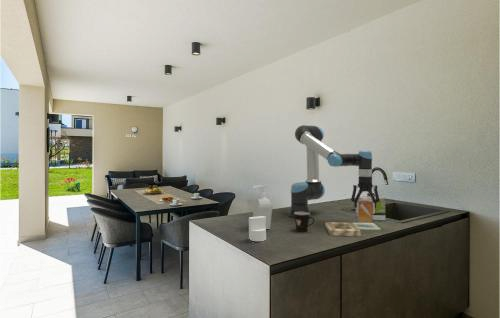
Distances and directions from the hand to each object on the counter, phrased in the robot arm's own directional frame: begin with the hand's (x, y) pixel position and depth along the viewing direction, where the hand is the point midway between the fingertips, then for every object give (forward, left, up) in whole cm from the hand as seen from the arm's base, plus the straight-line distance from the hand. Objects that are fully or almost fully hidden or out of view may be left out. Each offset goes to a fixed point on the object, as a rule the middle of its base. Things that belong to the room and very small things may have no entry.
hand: (365, 213), depth 173 cm
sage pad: (0, 0, -8) cm, 8 cm away
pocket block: (-16, -12, -8) cm, 22 cm away
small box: (0, 0, -5) cm, 5 cm away
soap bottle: (-63, -10, -9) cm, 64 cm away
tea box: (+10, +21, -9) cm, 25 cm away
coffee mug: (-38, -13, -9) cm, 41 cm away
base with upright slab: (-63, -32, -9) cm, 71 cm away
